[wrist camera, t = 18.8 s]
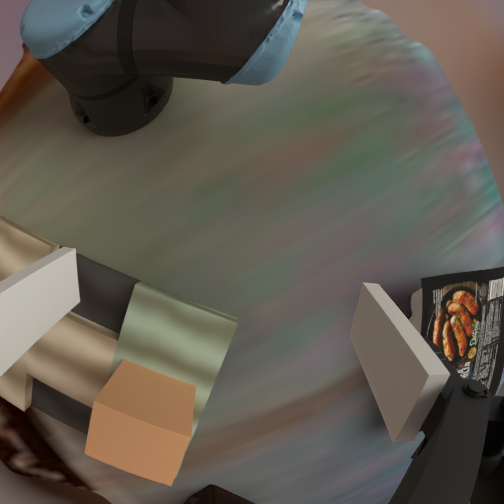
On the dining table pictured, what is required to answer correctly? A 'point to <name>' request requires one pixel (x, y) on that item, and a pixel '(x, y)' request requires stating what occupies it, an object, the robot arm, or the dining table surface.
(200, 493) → the brown manual coffee grinder
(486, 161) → the dining table surface
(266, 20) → the robot arm
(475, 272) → the food packaging
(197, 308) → the board
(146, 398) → the terracotta block
